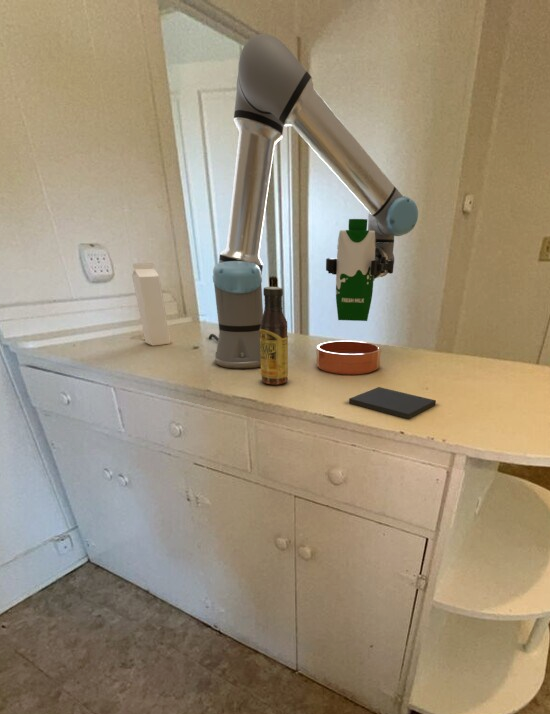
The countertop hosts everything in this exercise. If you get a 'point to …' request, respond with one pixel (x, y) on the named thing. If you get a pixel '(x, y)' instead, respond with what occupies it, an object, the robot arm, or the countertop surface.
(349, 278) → the drink carton
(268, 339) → the sauce bottle
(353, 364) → the bowl
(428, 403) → the mat
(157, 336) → the milk
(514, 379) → the countertop surface
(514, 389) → the countertop surface
